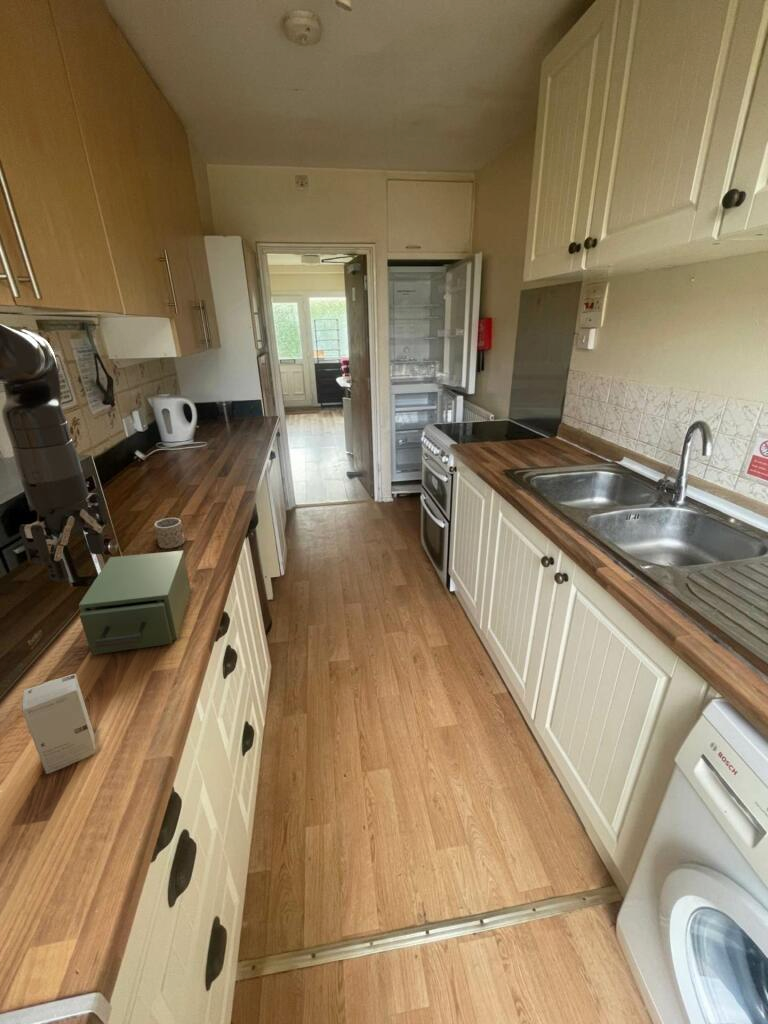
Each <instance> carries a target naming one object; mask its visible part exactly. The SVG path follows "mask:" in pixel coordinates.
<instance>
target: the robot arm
mask: <svg viewBox="0 0 768 1024" xmlns="http://www.w3.org/2000/svg"><path fill="white" fill-rule="evenodd" d="M0 383H2V385H3V390H4V395H5V402H4V404H3V406H2V408H1V417H2V422H3V424H4V427H5V431H6V433H7V436H8V439H9V442H10V445H11V449H12V453H13V461H14V464H15V467H16V470H17V474H18V476H19V479H20V482H21V485H22V488H23V491H24V494H25V497H26V499H27V503H28V505H29V506H30V507H31V508H32V509H34V510H35V512H36V514H37V518H36V521H35V522H32V523H28V524H25V523H24V524H21V525H20V526H19V528H18V530H19V534H20V537H21V540H22V544H23V547H24V551H25V554H26V558H27V561H28V563H30V564H44V566H45V568H46V571H47V574H48V577H49V579H50V580H52V581H54V582H66V581H67V580H68V579H69V578H70V576H69V573H68V569H67V566H66V564H65V561H64V558H62V555H63V553H64V552H63V551H64V548H65V547H66V546H68V543H69V538H71V537H73V536H74V535H75V533H77V532H81V531H82V532H84V533H85V534H84V536H85V540H86V543H87V546H88V550H89V553H90V554H92V555H102V554H104V553H105V552H106V549H105V543H104V539H103V535H102V532H103V530H104V529H103V528H104V526H108V524H109V518H108V515H107V512H106V509H105V505H104V502H103V498H102V495H101V494H100V493H96V492H89V489H88V485H87V482H86V479H85V475H84V471H83V468H82V464H81V459H80V457H79V453H78V451H77V448H76V447H75V444H74V441H73V439H72V434H71V432H70V427H69V424H68V421H67V418H66V415H65V412H64V409H63V404H62V403H63V402H62V391H61V389H62V388H61V381H60V374H59V368H58V363H57V360H56V357H55V353H54V350H53V349H52V347H51V346H50V343H48V341H47V340H46V339H45V338H44V337H43V336H42V335H41V334H39V333H38V332H36V331H34V330H32V329H30V328H27V327H24V326H17V325H15V326H14V325H9V326H7V325H4V324H2V323H0ZM97 515H98V516H97ZM52 536H53V537H56V538H57V539H51V537H52ZM52 547H53V551H52V552H51V549H52Z"/></svg>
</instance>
